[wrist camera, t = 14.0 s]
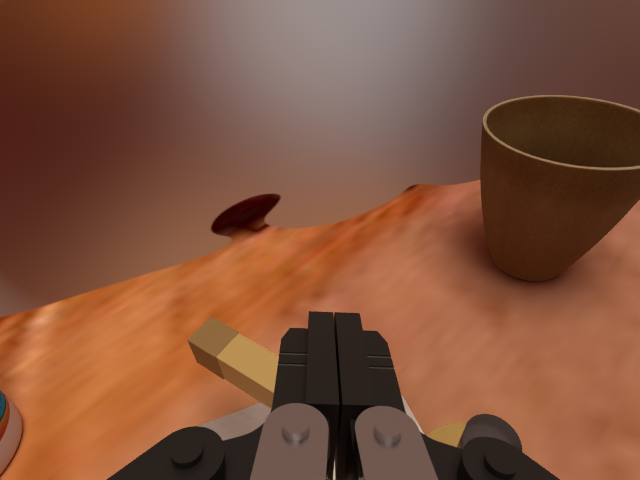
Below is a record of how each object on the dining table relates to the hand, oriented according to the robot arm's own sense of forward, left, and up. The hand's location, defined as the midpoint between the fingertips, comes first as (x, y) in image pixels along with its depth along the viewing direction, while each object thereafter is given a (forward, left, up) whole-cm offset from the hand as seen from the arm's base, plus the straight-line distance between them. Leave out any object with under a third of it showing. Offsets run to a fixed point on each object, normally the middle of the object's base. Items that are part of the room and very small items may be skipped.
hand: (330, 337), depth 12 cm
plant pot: (-29, -16, -22) cm, 40 cm away
